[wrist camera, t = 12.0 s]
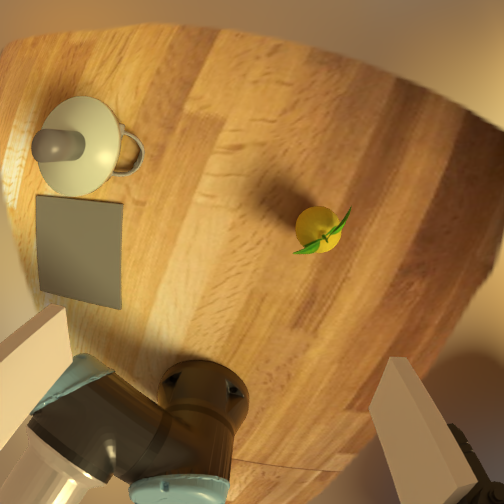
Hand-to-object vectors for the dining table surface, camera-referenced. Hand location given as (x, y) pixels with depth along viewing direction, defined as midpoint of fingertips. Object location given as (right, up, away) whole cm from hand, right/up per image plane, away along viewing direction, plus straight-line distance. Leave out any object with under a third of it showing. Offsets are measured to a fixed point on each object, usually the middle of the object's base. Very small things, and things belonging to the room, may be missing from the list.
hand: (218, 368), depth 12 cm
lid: (-19, +17, +21) cm, 33 cm away
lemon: (+9, +8, +30) cm, 33 cm away
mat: (-26, +5, +33) cm, 42 cm away
